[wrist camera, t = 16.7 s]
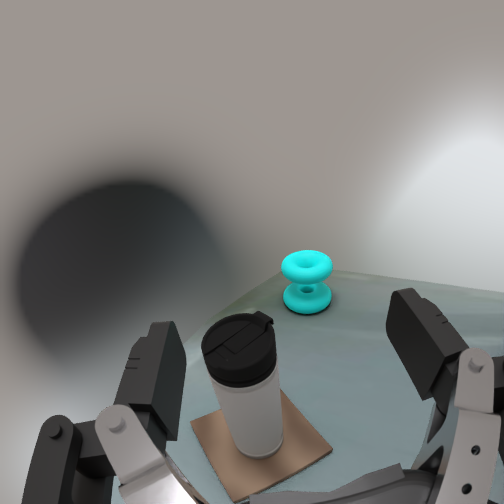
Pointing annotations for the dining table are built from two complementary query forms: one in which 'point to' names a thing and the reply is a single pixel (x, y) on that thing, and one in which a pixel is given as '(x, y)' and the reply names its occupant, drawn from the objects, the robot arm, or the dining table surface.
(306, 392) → the dining table surface
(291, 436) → the walnut board
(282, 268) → the cyan spool
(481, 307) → the dining table surface
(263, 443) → the travel mug
